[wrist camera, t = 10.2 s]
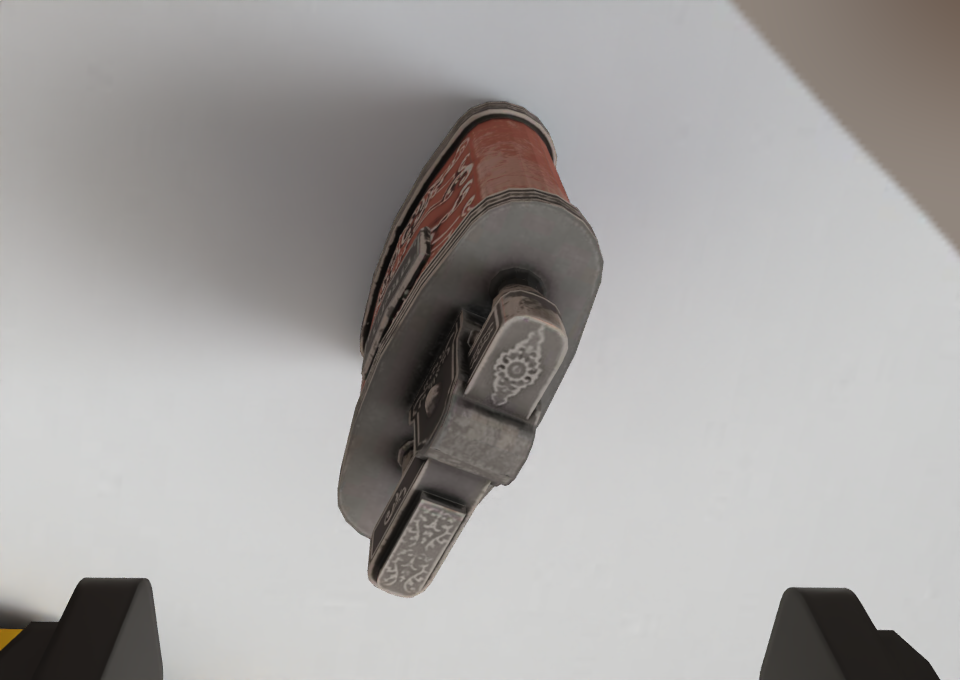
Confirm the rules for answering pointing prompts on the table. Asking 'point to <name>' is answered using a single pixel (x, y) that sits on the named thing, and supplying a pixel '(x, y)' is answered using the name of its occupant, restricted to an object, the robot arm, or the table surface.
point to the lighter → (463, 339)
